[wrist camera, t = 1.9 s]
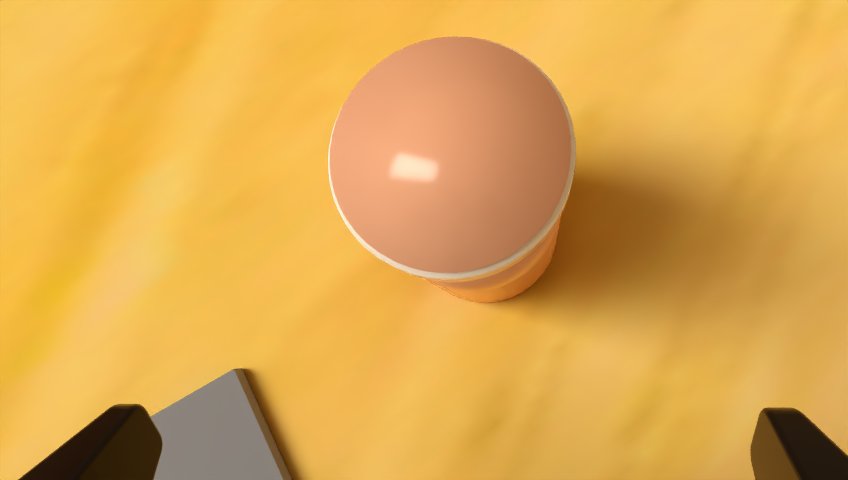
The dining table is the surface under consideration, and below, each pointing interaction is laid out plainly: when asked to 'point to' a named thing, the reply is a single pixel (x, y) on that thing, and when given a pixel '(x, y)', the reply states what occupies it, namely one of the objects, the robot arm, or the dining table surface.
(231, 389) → the card
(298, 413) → the dining table surface
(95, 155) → the dining table surface
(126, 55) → the dining table surface
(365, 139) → the terracotta tube
